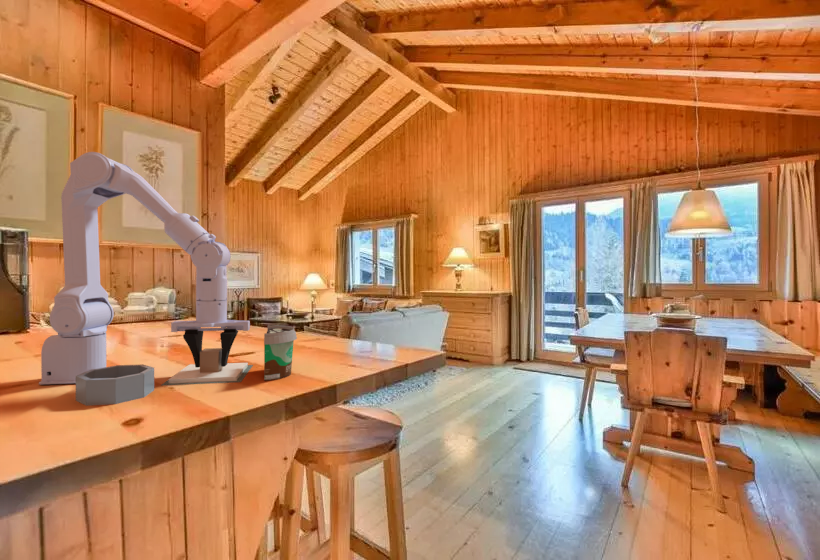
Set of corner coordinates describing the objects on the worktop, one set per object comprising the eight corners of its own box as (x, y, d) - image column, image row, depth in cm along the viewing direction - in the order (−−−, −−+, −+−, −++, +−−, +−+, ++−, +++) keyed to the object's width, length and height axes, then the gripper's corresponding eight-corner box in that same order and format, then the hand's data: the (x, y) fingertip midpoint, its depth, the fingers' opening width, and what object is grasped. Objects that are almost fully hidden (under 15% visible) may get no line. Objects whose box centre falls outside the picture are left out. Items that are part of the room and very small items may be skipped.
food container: (297, 383, 79) (297, 332, 79) (263, 385, 77) (264, 333, 77) (296, 368, 91) (296, 324, 91) (267, 370, 89) (267, 325, 89)
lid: (168, 383, 76) (168, 357, 76) (189, 368, 88) (189, 345, 88) (236, 380, 79) (236, 355, 78) (247, 366, 90) (247, 343, 90)
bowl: (64, 409, 63) (64, 380, 63) (99, 390, 73) (99, 365, 73) (136, 405, 65) (136, 378, 65) (160, 387, 75) (160, 363, 75)
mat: (160, 387, 75) (160, 385, 75) (185, 369, 89) (185, 367, 89) (240, 384, 78) (240, 381, 78) (253, 367, 92) (253, 364, 92)
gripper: (165, 301, 77) (165, 372, 78) (245, 301, 80) (245, 369, 81) (178, 299, 84) (178, 363, 85) (251, 299, 87) (251, 361, 88)
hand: (211, 365), depth 83 cm, fingers open, 4 cm apart
